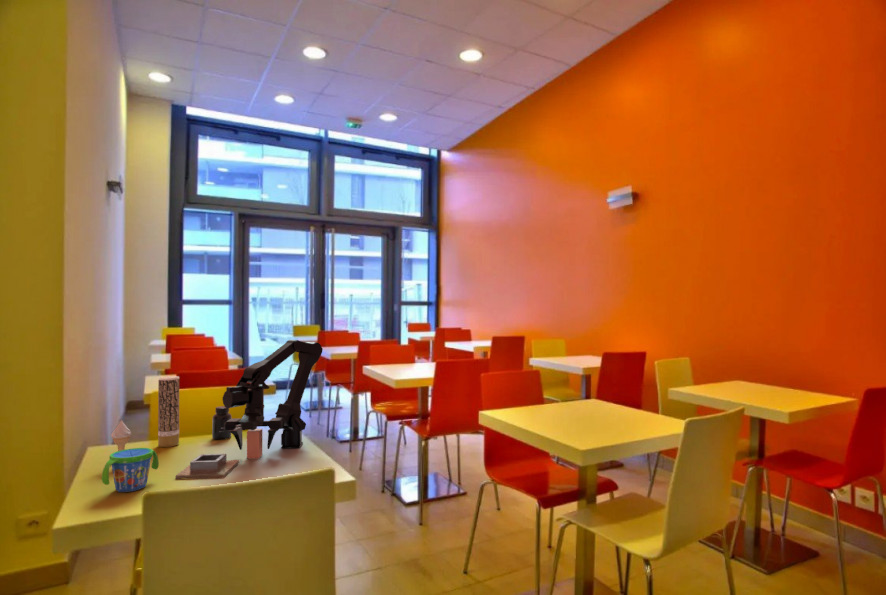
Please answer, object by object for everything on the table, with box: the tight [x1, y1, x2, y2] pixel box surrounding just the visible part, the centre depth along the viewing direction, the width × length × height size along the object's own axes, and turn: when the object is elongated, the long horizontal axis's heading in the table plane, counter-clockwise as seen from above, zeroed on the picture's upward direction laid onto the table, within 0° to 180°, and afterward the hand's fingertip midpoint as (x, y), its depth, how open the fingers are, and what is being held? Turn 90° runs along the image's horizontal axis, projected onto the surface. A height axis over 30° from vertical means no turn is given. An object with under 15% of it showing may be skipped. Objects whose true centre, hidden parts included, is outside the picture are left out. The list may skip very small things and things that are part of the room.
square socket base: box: [175, 453, 240, 480], centre depth 159 cm, size 14×14×4 cm
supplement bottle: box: [211, 405, 233, 441], centre depth 198 cm, size 7×7×12 cm
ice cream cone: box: [110, 419, 132, 451], centre depth 164 cm, size 6×6×15 cm
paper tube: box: [157, 375, 180, 448], centre depth 188 cm, size 7×7×25 cm
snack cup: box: [101, 447, 160, 493], centre depth 144 cm, size 16×10×10 cm
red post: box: [246, 428, 263, 459], centre depth 174 cm, size 4×4×9 cm
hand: (254, 449), depth 174 cm, fingers open, 9 cm apart
